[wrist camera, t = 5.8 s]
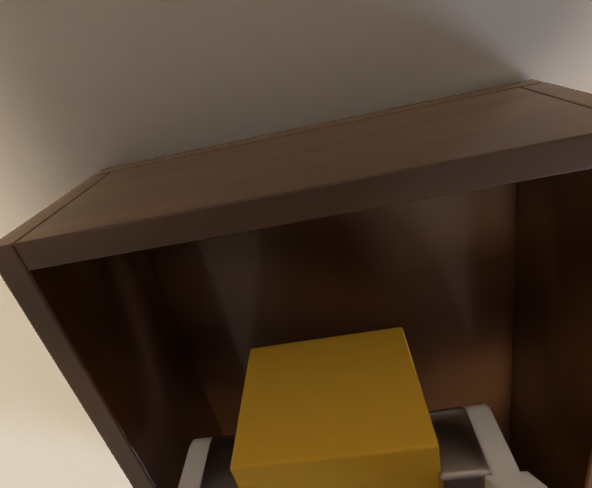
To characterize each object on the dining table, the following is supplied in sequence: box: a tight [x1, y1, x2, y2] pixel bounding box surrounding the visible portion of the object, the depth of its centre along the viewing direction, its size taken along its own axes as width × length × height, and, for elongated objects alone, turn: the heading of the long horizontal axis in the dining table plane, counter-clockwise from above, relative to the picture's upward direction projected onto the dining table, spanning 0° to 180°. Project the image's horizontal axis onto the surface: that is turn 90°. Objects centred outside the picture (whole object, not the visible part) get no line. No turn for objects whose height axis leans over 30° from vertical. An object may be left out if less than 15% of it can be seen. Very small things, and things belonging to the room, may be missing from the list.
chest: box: [0, 80, 592, 488], centre depth 14 cm, size 16×14×6 cm
